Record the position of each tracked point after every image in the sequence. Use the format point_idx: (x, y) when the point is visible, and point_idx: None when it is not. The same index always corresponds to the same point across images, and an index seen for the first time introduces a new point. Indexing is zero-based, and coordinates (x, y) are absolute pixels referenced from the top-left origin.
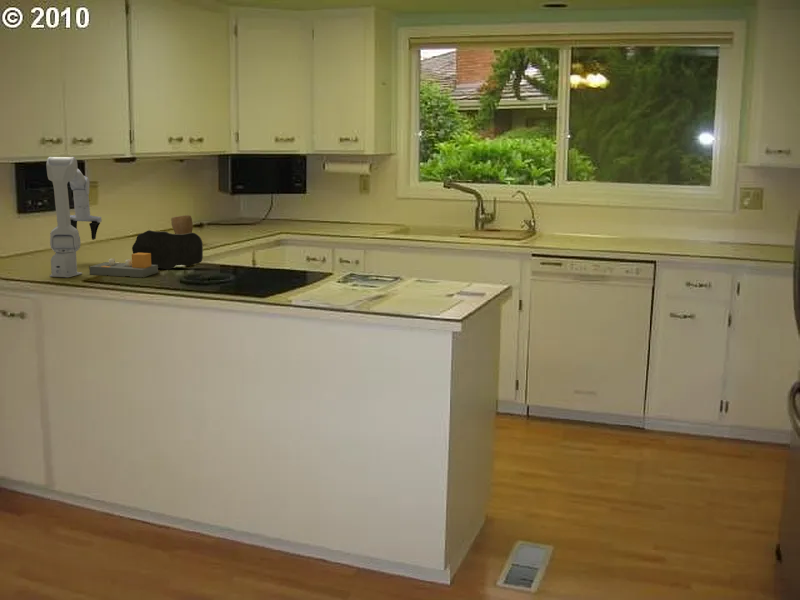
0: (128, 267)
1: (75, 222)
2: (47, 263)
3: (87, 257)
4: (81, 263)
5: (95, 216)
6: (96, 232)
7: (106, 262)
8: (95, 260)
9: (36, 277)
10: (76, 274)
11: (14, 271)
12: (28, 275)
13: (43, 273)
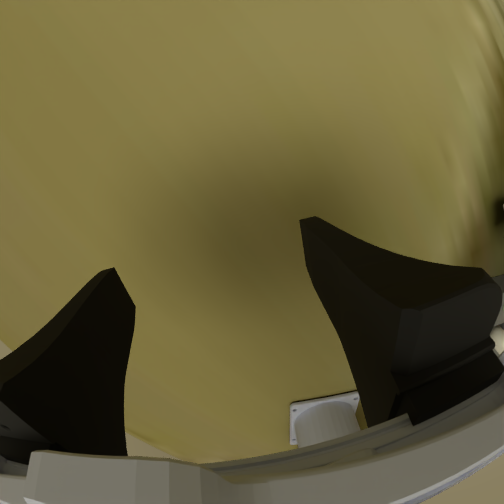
0: (494, 350)
1: (58, 416)
2: (50, 265)
3: (74, 9)
4: (182, 191)
5: (494, 453)
6: (355, 240)
7: None
8: (181, 58)
9: (262, 452)
10: (355, 411)
11: (127, 420)
12: (219, 445)
13: (232, 422)
